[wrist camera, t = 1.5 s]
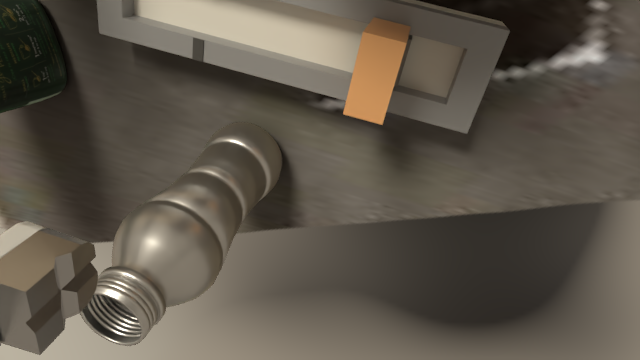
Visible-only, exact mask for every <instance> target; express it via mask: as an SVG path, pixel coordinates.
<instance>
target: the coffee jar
mask: <svg viewBox="0 0 640 360" xmlns="http://www.w3.org/2000/svg"><path fill="white" fill-rule="evenodd" d="M66 82H67V72H66V67H65V63H64V59H63V56H62V52H61V49H60V46H59V43H58V41H57V38H56V36H55V33H54V30H53V27H52V25H51V23H50V21H49V19H48V16H47V14H46V12H45V11H44V9H43V7H42V6H41V4H40V3H39V2H38V1H37V0H0V113H2V112H6V111H9V110H13V109H16V108H20V107H23V106H27V105H30V104H33V103H37V102H40V101H43V100H45V99H48V98H51V97H53V96H56V95H58V94H59V93H61V92H62V91H63V89H64V88H65V85H66Z"/></svg>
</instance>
